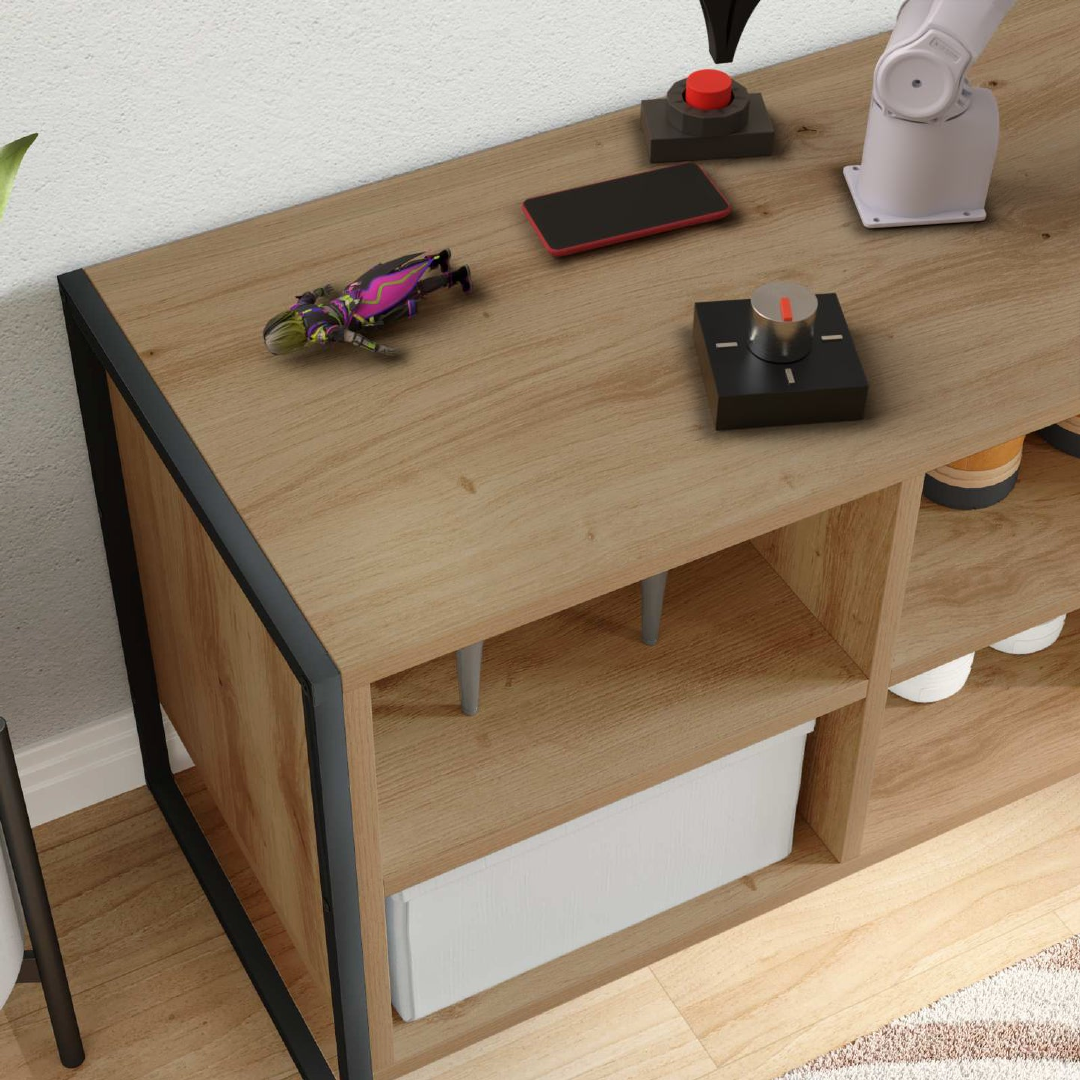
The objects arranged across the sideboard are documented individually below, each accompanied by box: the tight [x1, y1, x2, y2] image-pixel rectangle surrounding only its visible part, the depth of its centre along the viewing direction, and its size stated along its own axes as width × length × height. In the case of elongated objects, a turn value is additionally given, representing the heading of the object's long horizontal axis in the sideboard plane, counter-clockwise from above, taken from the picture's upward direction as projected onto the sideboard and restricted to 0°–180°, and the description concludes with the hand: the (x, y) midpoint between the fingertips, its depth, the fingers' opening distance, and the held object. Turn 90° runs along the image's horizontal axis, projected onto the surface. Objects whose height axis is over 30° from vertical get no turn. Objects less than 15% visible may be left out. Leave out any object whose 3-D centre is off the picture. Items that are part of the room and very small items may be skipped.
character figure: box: [262, 247, 474, 356], centre depth 112 cm, size 9×4×16 cm
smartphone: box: [521, 161, 732, 258], centre depth 122 cm, size 7×1×15 cm
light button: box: [686, 68, 732, 110], centre depth 126 cm, size 4×4×2 cm
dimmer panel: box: [692, 292, 870, 431], centre depth 108 cm, size 10×10×3 cm
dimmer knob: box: [747, 280, 818, 363], centre depth 105 cm, size 4×4×4 cm
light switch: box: [639, 76, 775, 164], centre depth 128 cm, size 10×6×4 cm, turn 95°
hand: (720, 57), depth 120 cm, fingers closed
